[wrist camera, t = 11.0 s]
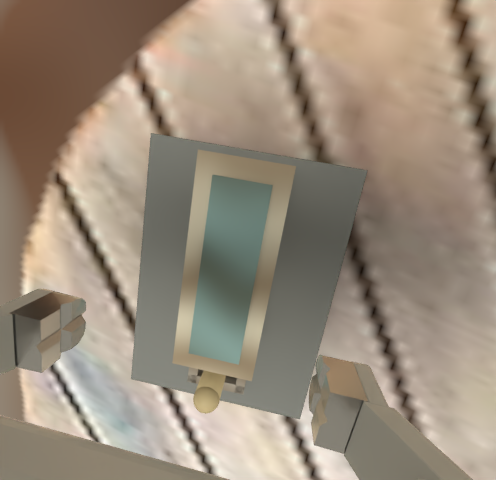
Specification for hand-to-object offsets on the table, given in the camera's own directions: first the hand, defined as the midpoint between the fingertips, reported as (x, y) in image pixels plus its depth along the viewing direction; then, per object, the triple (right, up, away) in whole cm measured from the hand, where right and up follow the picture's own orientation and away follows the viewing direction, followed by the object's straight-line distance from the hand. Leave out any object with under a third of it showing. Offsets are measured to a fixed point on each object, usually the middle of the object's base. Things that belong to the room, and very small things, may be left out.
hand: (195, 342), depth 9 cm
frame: (+1, 0, +13) cm, 13 cm away
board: (+1, 0, +14) cm, 14 cm away
